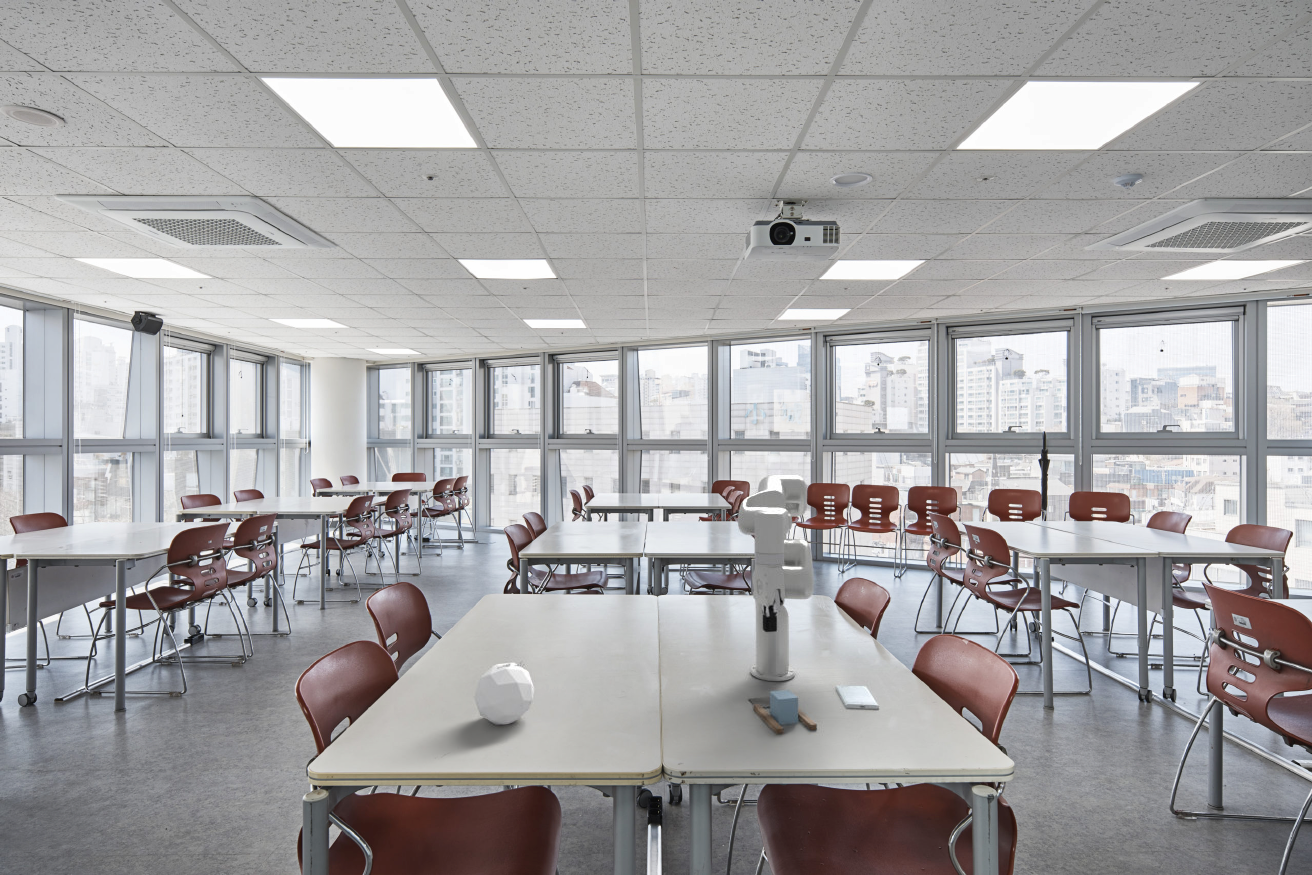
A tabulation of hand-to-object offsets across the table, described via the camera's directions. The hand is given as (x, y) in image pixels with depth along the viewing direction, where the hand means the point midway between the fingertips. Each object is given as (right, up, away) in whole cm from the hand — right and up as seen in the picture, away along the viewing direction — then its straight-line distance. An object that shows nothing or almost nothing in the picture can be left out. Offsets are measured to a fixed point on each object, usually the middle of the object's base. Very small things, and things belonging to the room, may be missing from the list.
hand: (769, 630), depth 157 cm
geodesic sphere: (-66, -19, -9) cm, 69 cm away
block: (+2, -19, -8) cm, 21 cm away
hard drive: (+24, -20, +4) cm, 31 cm away
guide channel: (+1, -19, -5) cm, 20 cm away
